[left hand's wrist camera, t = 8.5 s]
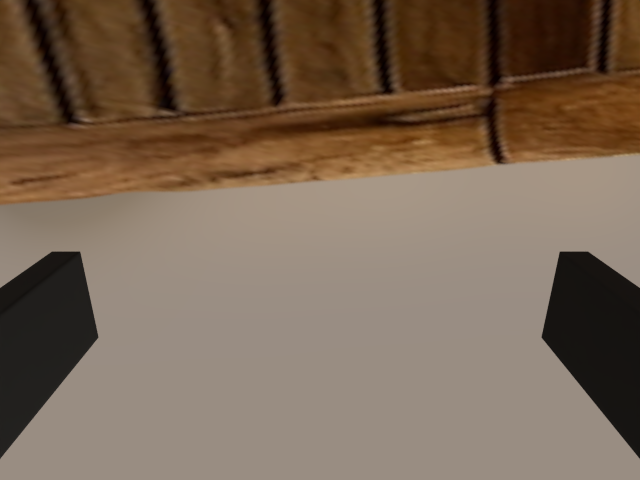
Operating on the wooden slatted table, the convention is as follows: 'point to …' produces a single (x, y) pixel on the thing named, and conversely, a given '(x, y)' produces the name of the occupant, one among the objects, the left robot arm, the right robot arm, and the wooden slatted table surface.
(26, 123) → the wooden slatted table surface
